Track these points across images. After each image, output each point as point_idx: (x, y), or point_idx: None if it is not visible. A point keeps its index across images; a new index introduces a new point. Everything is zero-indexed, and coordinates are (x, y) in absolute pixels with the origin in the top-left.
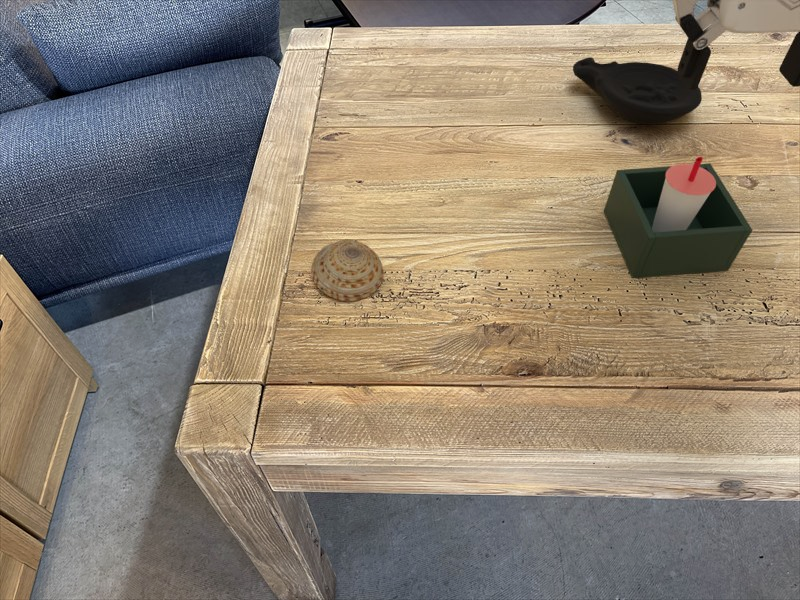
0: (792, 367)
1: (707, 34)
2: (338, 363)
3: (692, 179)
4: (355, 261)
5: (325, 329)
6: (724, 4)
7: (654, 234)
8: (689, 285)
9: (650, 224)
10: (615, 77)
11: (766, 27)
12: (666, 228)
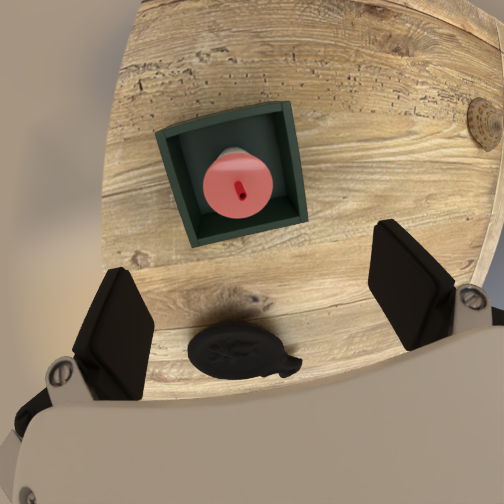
0: (134, 22)
1: (484, 319)
2: (478, 51)
3: (238, 182)
4: (494, 118)
5: (487, 78)
6: None
7: (282, 107)
8: (213, 97)
9: None
10: (265, 362)
11: (389, 388)
12: (244, 150)
